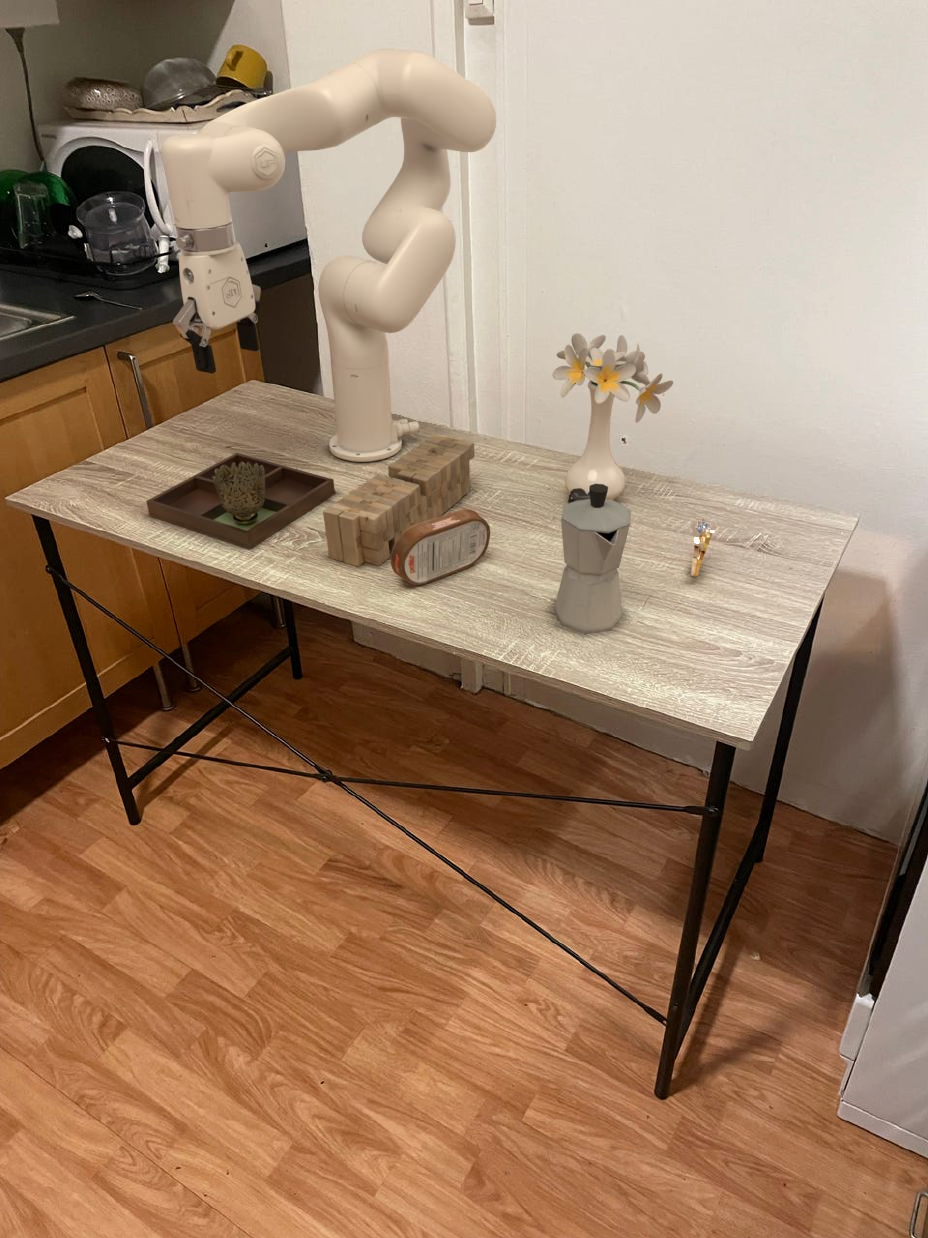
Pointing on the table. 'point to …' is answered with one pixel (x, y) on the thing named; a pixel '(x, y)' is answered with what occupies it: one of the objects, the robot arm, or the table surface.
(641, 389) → the flower vase
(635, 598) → the table surface
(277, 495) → the grid
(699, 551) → the ring
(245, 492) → the cup
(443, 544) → the tin
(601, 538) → the coffee maker
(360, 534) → the block tower
